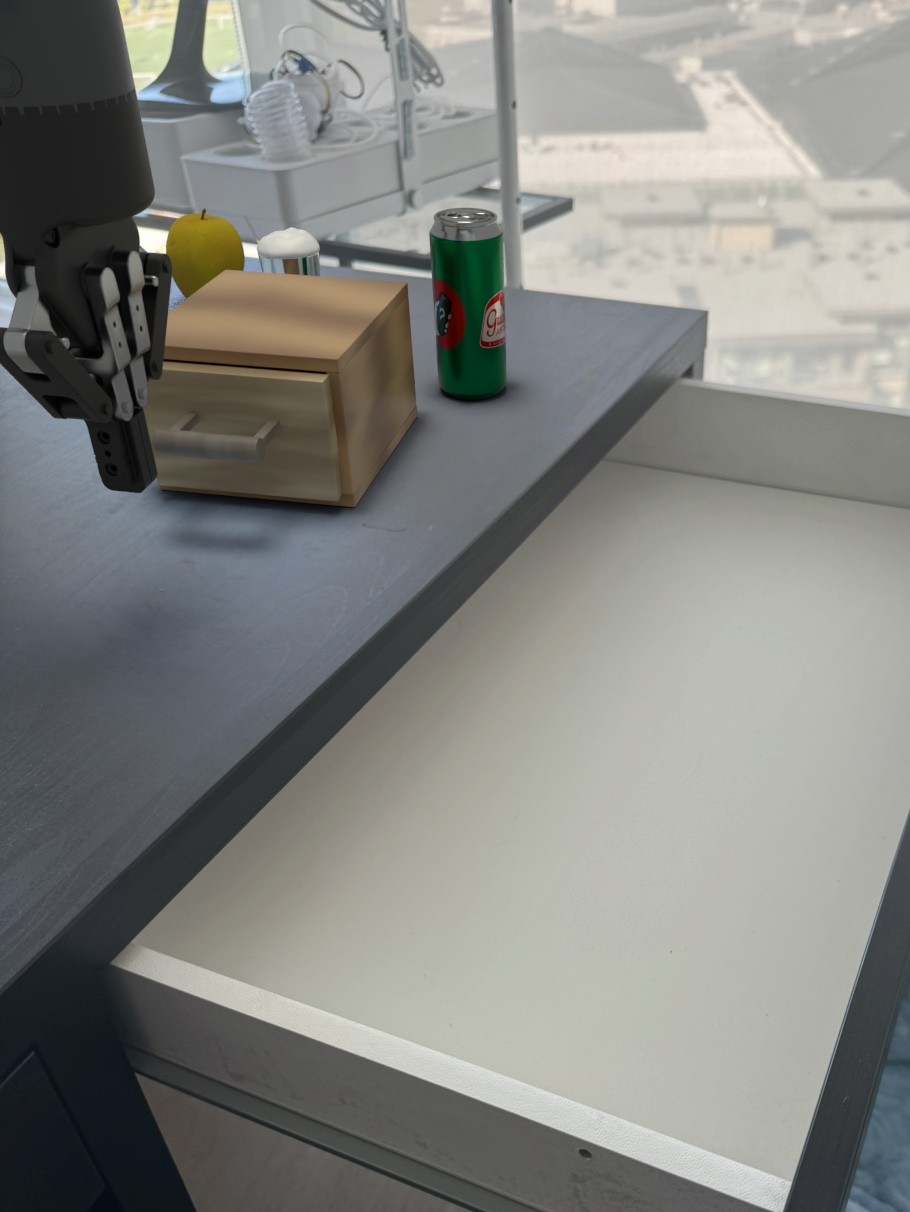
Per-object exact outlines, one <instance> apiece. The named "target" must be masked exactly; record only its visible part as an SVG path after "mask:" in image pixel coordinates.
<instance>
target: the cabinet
mask: <svg viewBox="0 0 910 1212" xmlns="http://www.w3.org/2000/svg"><path fill="white" fill-rule="evenodd" d="M408 285H409V284H408V282H405V281H392V280H377V279H363V278H349V277H336V276H322V275H320V276H308V275H294V274H280V273H266V272H262V271H252V270H251V271H249V270H243V271H238V270H225V271H223V272H222V273H221V274H219V275H218V276H217V277H215V278H214V279H212V280H211V281H210V282H208V283H207V284H206V285H204V286H203V287H202V288H200V289H199V290H198V291H196V292H195V293H194V294H192V295H191V296H190V297H188V298H187V299H186V298H185V299H184V300H183V301H181V302H180V303H178V304H177V305H176V306H175V307H173V308H172V309H171V310H168V319H167V329H166V339H165V349H164V359H171V360H183V361H196V362H208V363H221V364H233V365H246V366H258V367H271V368H284V369H296V370H309V371H321V372H327V374H328V375H329V377H330V386H331V394H332V402H333V410H334V419H335V427H336V435H337V443H338V451H339V460H340V468H341V476H342V484H343V495H342V496H341V497H340V499H339V500H338V501H326V500H315V499H304V498H293V497H282V496H271V495H260V494H249V493H238V492H228V491H217V490H206V489H195V488H184V487H173V486H162V485H159V489H160V490H163V491H173V492H174V491H175V492H185V493H194V494H196V493H197V494H206V495H216V496H229V497H239V498H250V499H260V500H261V499H262V500H269V501H270V500H271V501H273V500H274V501H282V502H293V503H304V504H314V505H326V506H337V507H349V508H356V506H357V505H358V503H359V502H360V501H361V499H362V498H363V496H364V495H365V493H366V491H368V489H369V488H370V486H371V485H372V483H373V482H374V480H375V478H377V476H378V474H379V473H380V471H381V470H382V468H383V467H384V465H385V464H386V463H387V461H388V459H389V458H391V455H392V454H393V452H394V451H395V450H396V448H397V447H398V445H399V443H400V442H401V441H402V439H403V438H404V437H405V435H406V433H407V432H408V430H409V429H410V428H411V426H412V424H413V423H414V422H415V420H416V419H417V417H418V406H417V394H416V381H415V379H416V377H415V370H414V369H415V367H414V352H413V340H412V327H411V312H410V311H411V310H410V298H409V286H408Z"/></svg>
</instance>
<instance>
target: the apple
mask: <svg viewBox="0 0 910 1212" xmlns="http://www.w3.org/2000/svg"><path fill="white" fill-rule="evenodd" d="M165 243H166V244H165V254H167V255H168V256H169V257H170V259H171V263H172V280H173V282H174V283H175V285H176V287H177V289H178V290H179V291H180V293H181V295H182V296H183V297H184V298H185V300H186V299H187V298H188V297H190V296H191V295H192V294H194V293H195V292H196V291H198V290H199V289H200V288H202V287H203V286H204V285H206V284H207V283H208V282H210V281H211V280H212V279H214V278H215V277H217V276H218V275H219V274H221V273H222V272H223V271H225V270H238V271H245V262H246V257H245V250H244V245H243V241H242V239H241V236H240V234H239V232H238V231H237V229H236V228H235V226H234V225H233V224H232V223H231V222H229V221H228V220H227V219H226V218H223V217H221V216H218V215H211V214H207V210H206V208H203V209H202V210H201V213H200V212H199V213H198V212H197V213H188V214H185V215H183V216H182V215H181V216H179V217H178V218H177V219H175V220H174V222H173V223H172V224H171V225H170V227H169V230H168V234H167V237H166V242H165Z"/></svg>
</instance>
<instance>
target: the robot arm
mask: <svg viewBox="0 0 910 1212" xmlns="http://www.w3.org/2000/svg"><path fill="white" fill-rule="evenodd" d="M139 105H140V104H139V100H138V95H137V90H136V85H135V80H134V74H133V70H132V65H131V60H130V53H129V48H128V43H127V38H126V33H125V28H124V22H123V18H122V14H121V10H120V7H119V3H118V0H0V236H1V237H2V243H3V250H4V274H5V275H4V276H5V281H6V284H7V286H8V289H9V290H10V293H11V294H12V296H13V297H14V298H15V302H14V305H13V310H12V313H11V317H10V322H9V324H8V327H4V326H3V327H2V326H0V365H1V366H2V367H3V369H4V370H6V371H7V372H8V373H9V375H11V377H13V378H14V379H15V381H16V382H17V383H19V385H20V386H21V387H22V388H23V389H25V391H27V393H28V394H30V395H31V397H32V398H33V399H34V400H35V401H36V402H37V403H38V404H39V405H40V406H41V407H42V408H43V409H44V410H45V411H46V412H47V413H48V414H49V415H50V416H51V417H52V418H54V419H59V420H60V419H61V420H68V419H71V420H80V421H81V420H82V421H83V422H84V423H85V426H86V428H87V431H88V435H89V440H90V443H91V447H92V451H93V455H94V456H95V457H94V458H95V462H96V464H97V465H96V466H97V471H98V475H99V477H100V479H101V482H102V484H103V486H104V487H105V488H106V489H108V490H110V491H112V492H122V493H132V494H141V493H143V492H144V491H145V490H146V489H147V488H148V487H149V486H151V484H152V483H154V481H155V480H157V475H158V473H157V468H156V464H155V459H154V455H153V450H152V446H151V441H150V437H149V432H148V428H147V423H146V419H145V414H144V410H143V407H146V406H147V404H148V401H149V389H148V381H149V379H152V380H159V379H160V377H161V375H162V369H163V359H164V349H165V339H166V329H167V319H168V312H169V308H170V299H171V289H172V288H171V287H172V280H173V277H172V263H171V259H170V257H169V256H168V255H167V254H166V253H163V252H148V251H147V250H146V249H145V248H143V247H142V246H141V237H140V231H139V229H138V226H137V223H136V221H135V219H134V218H133V217H134V216H137V215H139V214H141V213H143V212H145V210H148V208H149V207H150V206H151V205H152V203H153V202H154V200H155V195H156V189H155V183H154V177H153V173H152V168H151V162H150V158H149V152H148V147H147V142H146V137H145V136H146V135H145V130H144V127H143V121H142V116H141V112H140V110H141V109H140V106H139Z"/></svg>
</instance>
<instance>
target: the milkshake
mask: <svg viewBox="0 0 910 1212" xmlns="http://www.w3.org/2000/svg"><path fill="white" fill-rule="evenodd" d="M243 218H244V220H245V222H246V224H247V226H248V228H249V230H250V232H251V234H252V236H253V237H254V239H255V242H256V251H257V256H258V260H259V265H260V268H261V272H266V273H280V274H294V275H308V276H321V249H320V248H321V247H320V244H319V242H318V241H317V239H316V238H315V237H314V236H313V235H312V234H311V233H310V232H308V231H307V230H304V229H300V228H299V229H298V228H296V227H288V228H286V229H284V230H274V231H272V232H271V233H269V234H266V235H264V236H263V237H261V239H260V238H259V236H258V234H257V232H256V230H255V228H254V226H253V225H252V222H251V221H250V218H249V216H248V215H247V214H245V215H243Z"/></svg>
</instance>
